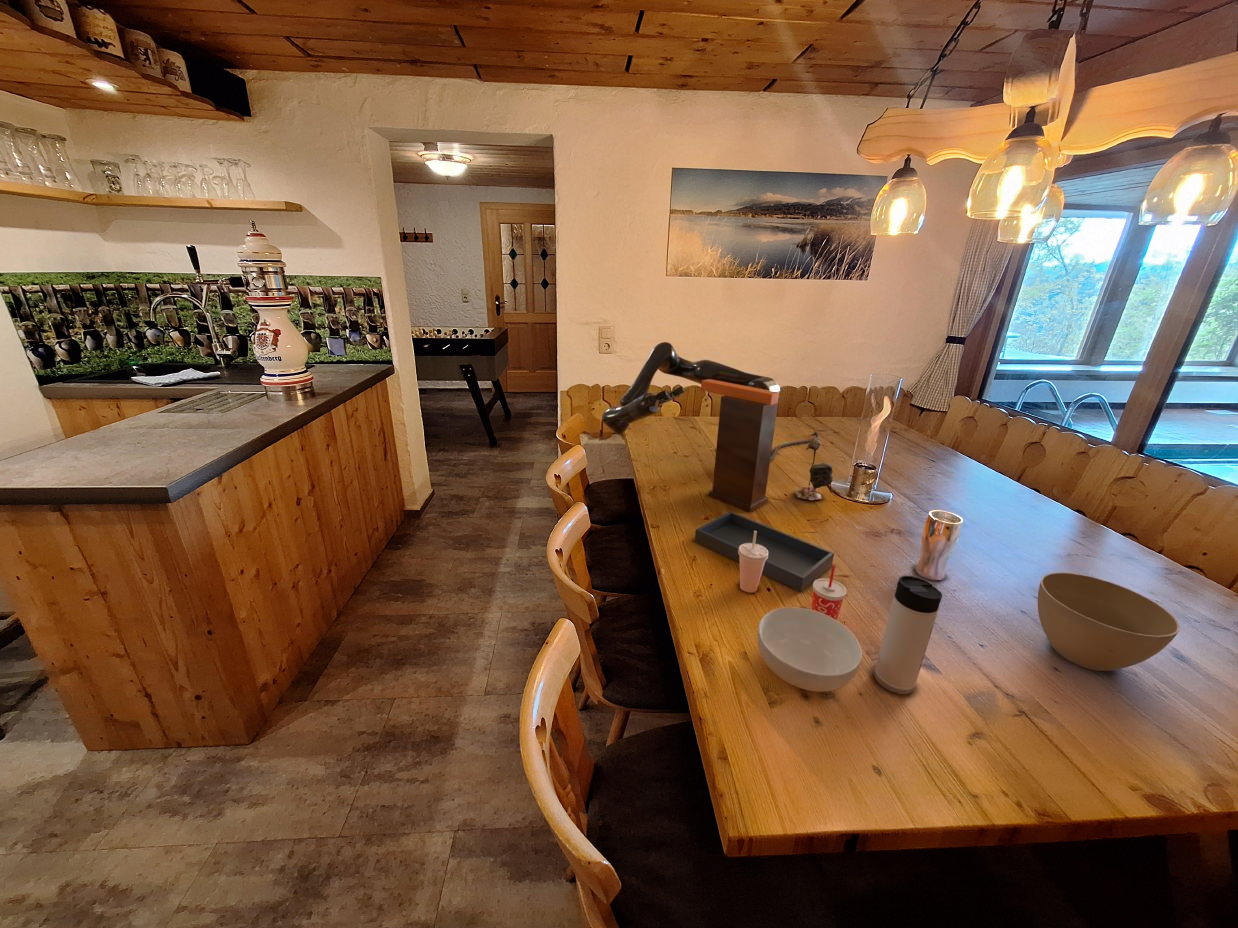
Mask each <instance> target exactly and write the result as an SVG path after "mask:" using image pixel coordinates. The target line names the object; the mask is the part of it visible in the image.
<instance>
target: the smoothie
mask: <svg viewBox="0 0 1238 928" xmlns="http://www.w3.org/2000/svg"><path fill="white" fill-rule="evenodd" d="M756 534H757V531H754V536H753V543H745V544H742V545H740V546H739V550H738V554H739V560H740V563H739V588H740V589H741V590H742V591H743V592H745V593H755V592H757V590H758V587H759V583H760V580H761V577H762V575H763V574H762V571H763V567H764V564H765V561H766V559H767V558H768V550H767V549H766V548H765V547H763V546H761V545H759V544H755V541H756Z"/></svg>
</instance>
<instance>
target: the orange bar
mask: <svg viewBox="0 0 1238 928" xmlns="http://www.w3.org/2000/svg"><path fill="white" fill-rule="evenodd" d="M700 391H703V392H707V393H711V394H716V395H722V396H730V397H735V398H739V399H744V400H749V401H753V402H758V403H763V404H767V405H773V404H776V403H778V404H779V398H780V395H779V392H774V391H769V390H764V389H759V388H753V387H748V386H743V385H738V384H733V383H727V382H722V381H717V380H712V379H707V380H702V381H701V384H700Z"/></svg>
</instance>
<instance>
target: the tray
mask: <svg viewBox="0 0 1238 928" xmlns="http://www.w3.org/2000/svg"><path fill="white" fill-rule="evenodd" d="M754 531H757V534H756V541H755V544H759V545H761V546H763V547H765V548H766V549H767V550H768V558H767V559H766V561H765V564H764V567H763V571H762V574H761V575H764V576H767V577H768V578H770V579H772V580H775V581H777V582H779V583H781V584H783V585H785V586H788V587H790V588H791V589H793V590H795V591H798V592H800V593H802V592H803V591H804V590H805V589H806V588H807V587H809V586H810V585H811V584H813V582H814V581H815V580H817V579H819V578H820V577H821V575H823V574H824V573H825V572H826V571H827V570H828V569H829V568H832V566H833V563H834V556H835V552H833V551H831V550H828V549H826V548H823V547H821V546H818V545H816V544H813V543H811V542H808V541H806V540H803V539H801V538H798V537H795V536H793V535H791V534H788V533H786V532H783V531H781V530H779V529H776V528H773V527H771V526H768V525H766V524H763V523H761V522H758V521H756V520H754V519H751V518H748V517H746V516H744V515H741V514H739V513H736V512H733V511H731V510H730V511H728V512H726V513H724V514H722V515H721V516H719V517H717V518H715V519H713V520H711V521H709V522H707V523H705V524H703V525H702V526H699V527H697V528H695V534H694V542H695V543H697V544H700V545H702V546H703V547H705V548H708V549H710V550H712V551H714V552H716V553H718V554H720V555H723V556H725V557H727V558H729V559H731V560H733V561H735V562H737V563H739V564H740V560H739V554H738V550H739V546H740V545H742V544H745V543H753V536H754Z"/></svg>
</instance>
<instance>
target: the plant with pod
mask: <svg viewBox="0 0 1238 928" xmlns="http://www.w3.org/2000/svg"><path fill="white" fill-rule="evenodd" d="M811 439H812V440H811ZM811 439H810V440H811V441H810V442H808V443H807V447H806V448H805V450H806V451H808V450H809V449H810V450H813V458H812V465H811V466H810V468H809V482H808V486H806V485H803V486H802V487H801V489H800V488H799V489H795V490H794V497H796V498H799V499H802V500H809V501H816V500H823V497H822V494H821V493H820V491H817V489H820V488H824V487H827V489H828V490H829V492H830V493H831V494H833V493H834V492H833V490H832V488H831V486H830V485H831V484H832V482H833V479H834V478H833V472H834V471H833V470H834V469H833V465H831V464H830V463H828V462H821V463H820V462H819V463H815V460H816V453H817V451H818V450H819V449H820V446H821V445H822V442H821V440H819V439H816V437H812V438H811ZM811 484H812V487H811V486H810V485H811Z"/></svg>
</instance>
